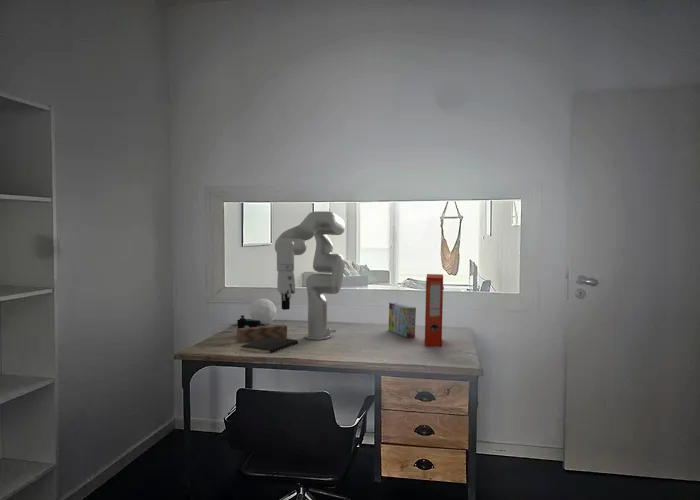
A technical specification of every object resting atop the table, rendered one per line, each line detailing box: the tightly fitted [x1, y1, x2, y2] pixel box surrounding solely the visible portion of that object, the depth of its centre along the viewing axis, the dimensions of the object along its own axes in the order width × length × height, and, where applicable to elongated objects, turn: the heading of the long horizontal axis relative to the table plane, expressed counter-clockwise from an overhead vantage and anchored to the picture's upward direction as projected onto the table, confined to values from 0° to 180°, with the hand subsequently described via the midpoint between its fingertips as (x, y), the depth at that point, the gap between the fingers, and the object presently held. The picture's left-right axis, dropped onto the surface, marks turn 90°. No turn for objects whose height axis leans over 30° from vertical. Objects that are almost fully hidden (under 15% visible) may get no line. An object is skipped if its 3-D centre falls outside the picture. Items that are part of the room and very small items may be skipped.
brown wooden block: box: [236, 324, 288, 344], centre depth 284 cm, size 24×4×6 cm, turn 118°
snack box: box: [388, 301, 417, 338], centre depth 301 cm, size 21×6×15 cm, turn 22°
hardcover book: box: [239, 337, 299, 354], centre depth 269 cm, size 16×23×2 cm
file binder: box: [424, 273, 444, 348], centre depth 279 cm, size 8×17×32 cm, turn 171°
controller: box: [236, 315, 262, 329], centre depth 293 cm, size 4×12×10 cm, turn 76°
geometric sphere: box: [249, 298, 277, 326], centre depth 324 cm, size 14×15×15 cm
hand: (285, 309), depth 257 cm, fingers closed
